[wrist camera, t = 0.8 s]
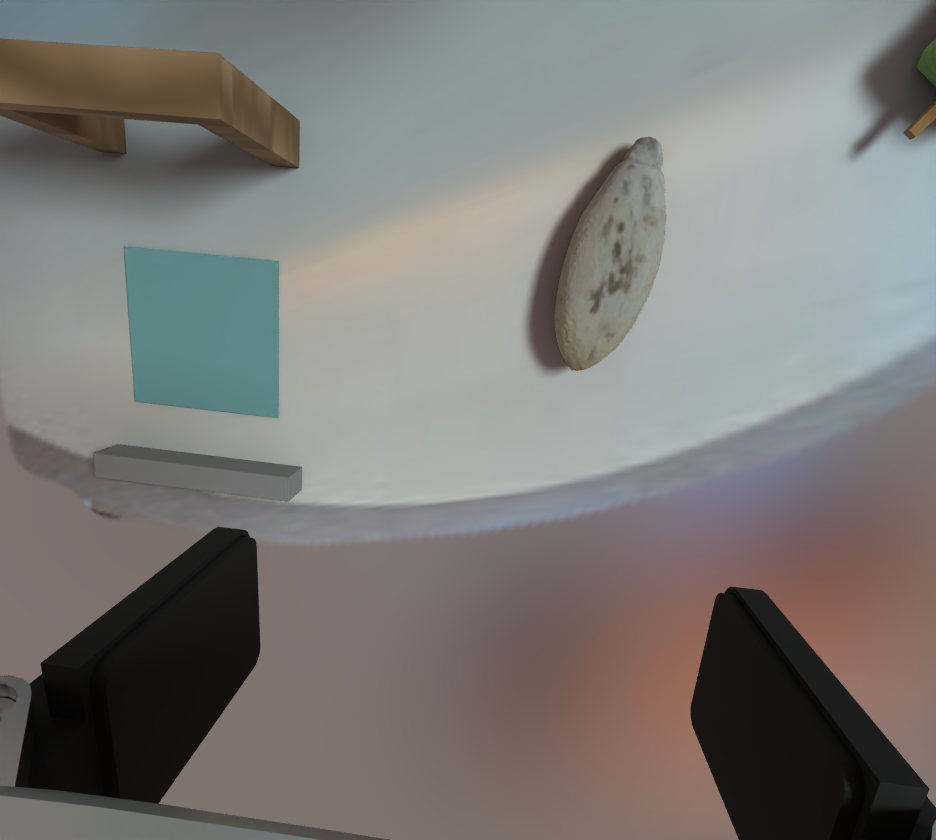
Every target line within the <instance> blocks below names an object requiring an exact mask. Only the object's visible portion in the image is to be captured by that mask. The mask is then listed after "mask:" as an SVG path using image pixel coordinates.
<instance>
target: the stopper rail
mask: <svg viewBox="0 0 936 840" xmlns="http://www.w3.org/2000/svg"><path fill="white" fill-rule="evenodd" d="M93 457H94V467H95V477H100V478H108V479H116V480H123V481H131V482H139V483H147V484H154V485H162V486H170V487H178V488H185V489H193V490H201V491H209V492H217V493H224V494H232V495H240V496H248V497H255V498H263V499H271V500H279V501H287V502H288V501H290V500H291V499H292V498H293V497H294V496H295V495H296V494H297V493H299V492H300V491H301V490H302V467H297V466H289V465H281V464H273V463H264V462H256V461H248V460H240V459H232V458H224V457H216V456H208V455H200V454H192V453H183V452H175V451H167V450H159V449H151V448H143V447H135V446H127V445H119V444H117V445H115V446H112V447H109V448H106V449H104V450H101V451H98V452H95V453H93Z"/></svg>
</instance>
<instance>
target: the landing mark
mask: <svg viewBox="0 0 936 840" xmlns="http://www.w3.org/2000/svg"><path fill="white" fill-rule="evenodd" d="M124 251H125V265H126V279H127V293H128V307H129V321H130V335H131V350H132V364H133V378H134V392H135V401H138V402H147V403H155V404H164V405H172V406H181V407H189V408H198V409H207V410H215V411H224V412H232V413H241V414H249V415H258V416H266V417H275V418H278V341H279V261H271V260H261V259H250V258H240V257H229V256H219V255H208V254H198V253H187V252H177V251H166V250H156V249H145V248H135V247H124Z"/></svg>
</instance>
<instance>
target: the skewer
mask: <svg viewBox="0 0 936 840" xmlns="http://www.w3.org/2000/svg"><path fill="white" fill-rule="evenodd" d="M916 67H917V68H918V70H919V71H920V72H921V73H922V74H923V75H924V76H925V77H926V78H927V79H928V80H929V81H930V82H931V83H932V84H933V85H934V86H936V39H935V40H933V41H932V42H931V43H930V44H929V45H928V46H927V47H926V48H925V50H924V51H923V53H922V55H921V56H920V59H919V61H918V64H917V66H916ZM935 119H936V100H935V101H934V102H933V103H932V104H931V105H930V106H929V107H928V108H927V109H926V110H925V111H924V112H923V113H922V114H921V115H920V116H919V117H918V118H917V119H916V121H915V122H914V123H913V124H912V125H911V126H910V127H909V128H908V129H907V130H906V131H905V132H904V134H905V135H906V136H907V137H908V138H909V139H912V138H915V137H916V136H917V135H919V134H920V133H921V132H922V131H923V130H924V129H925V128H926V127H927V126H928V125H930V124H931V123H932V122H933V121H934V120H935Z"/></svg>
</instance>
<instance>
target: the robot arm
mask: <svg viewBox="0 0 936 840" xmlns="http://www.w3.org/2000/svg"><path fill="white" fill-rule="evenodd" d="M257 574H258V572H257V546H256V541H255V539H253V538H250V536H249V534H248V532H247V531H246V530H240V529H232V528H223V527H217V528H215V529H213V530H212V531H211V532H209V533H208V534H207V535H206V536H204V537H203V538H202V539H200V540H199V541H198V542H197V543H195V544H194V545H193V546H191V547H190V548H189V549H188V550H186V551H185V552H184V553H183V554H181V555H180V556H179V557H177V558H176V559H175V560H173V561H172V562H171V563H169V564H168V565H167V566H166V567H164V568H163V569H162V570H160V571H159V572H158V573H157V574H155V575H154V576H153V577H152V578H150V579H149V580H148V581H146V582H145V583H144V584H142V585H141V586H140V587H138V588H137V589H136V590H135V591H133V592H132V593H131V594H129V595H128V596H127V597H126V598H124V599H123V600H122V601H120V602H119V603H118V604H116V605H115V606H114V607H113V608H111V609H110V610H109V611H107V612H106V613H105V614H104V615H102V616H101V617H100V618H98V619H97V620H96V621H95V622H93V623H92V624H91V625H89V626H88V627H87V628H85V629H84V630H83V631H82V632H80V633H79V634H78V635H76V636H75V637H74V638H73V639H71V640H70V641H69V642H67V643H66V644H65V645H64V646H62V647H61V648H60V649H58V650H57V651H56V652H55V653H53V654H52V655H51V656H49V657H48V658H47V659H45V660H44V661H43V662H42V663H41V668H42V674H41V675H40V676H39V677H38V678H36V679H35V680H34V681H33V682H32V683H30V684H29V683H27V682H26V681H25V680H24V679H22V678H19V677H14V676H0V840H389V839H383V838H377V837H370V836H364V835H358V834H352V833H345V832H339V831H333V830H326V829H320V828H313V827H306V826H300V825H294V824H287V823H280V822H274V821H267V820H261V819H255V818H248V817H242V816H235V815H229V814H222V813H216V812H209V811H203V810H196V809H190V808H183V807H177V806H170V805H163V804H158V803H159V802H160V800H161V799H162V797H163V796H164V795H165V793H166V792H167V791H168V789H169V788H170V786H171V785H172V783H173V782H174V781H175V779H176V778H177V776H178V775H179V774H180V772H181V771H182V769H183V767H184V766H185V765H186V764H187V762H188V761H189V759H190V758H191V756H192V755H193V754H194V752H195V751H196V749H197V748H198V746H199V745H200V744H201V742H202V741H203V739H204V738H205V737H206V735H207V734H208V732H209V731H210V729H211V728H212V727H213V725H214V724H215V722H216V721H217V719H218V718H219V717H220V715H221V714H222V712H223V711H224V710H225V708H226V707H227V705H228V704H229V702H230V701H231V700H232V698H233V697H234V695H235V694H236V693H237V691H238V690H239V688H240V687H241V685H242V684H243V683H244V681H245V680H246V678H247V677H248V675H249V674H250V673H251V671H252V670H253V668H254V667H255V665H256V663H257V660H258V657H259V653H260V628H259V600H258V575H257ZM691 721H692V725H693V729H694V731H695V733H696V736H697V738H698V741H699V743H700V746H701V748H702V751H703V753H704V756H705V758H706V760H707V763H708V765H709V768H710V770H711V773H712V775H713V777H714V780H715V782H716V785H717V787H718V790H719V792H720V795H721V797H722V800H723V802H724V804H725V807H726V809H727V812H728V814H729V817H730V819H731V822H732V824H733V826H734V829H735V831H736V834H737V836H738V839H739V840H936V807H935V806H934V805H933V804H932V802H931V801H930V800H929V799H928V797H927V794H928V791H929V788H928V787H927V785H926V784H925V783H924V782H923V781H922V779H921V778H920V777H919V776H918V775H917V773H916V772H915V771H914V770H913V769H912V767H911V766H910V765H909V764H908V763H907V762H906V760H905V759H904V758H903V757H902V755H901V754H900V753H899V752H898V751H897V749H896V748H895V747H894V746H893V745H892V744H891V742H890V741H889V740H888V739H887V738H886V736H885V735H884V734H883V733H882V732H881V730H880V729H879V728H878V727H877V726H876V724H875V723H874V722H873V721H872V720H871V718H870V717H869V716H868V715H867V714H866V712H865V711H864V710H863V709H862V708H861V706H860V705H859V704H858V703H857V702H856V701H855V699H854V698H853V697H852V696H851V695H850V693H849V692H848V691H847V690H846V689H845V688H844V686H843V685H842V684H841V683H840V681H839V680H838V679H837V678H836V677H835V676H834V674H833V673H832V672H831V671H830V670H829V668H828V667H827V666H826V665H825V664H824V662H823V661H822V660H821V659H820V657H819V656H818V655H817V654H816V653H815V652H814V650H813V649H812V648H811V647H810V646H809V644H808V643H807V642H806V641H805V640H804V638H803V637H802V636H801V635H800V634H799V633H798V631H797V630H796V629H795V628H794V627H793V625H792V624H791V623H790V622H789V621H788V619H787V618H786V617H785V616H784V615H783V613H782V612H781V611H780V610H779V608H778V607H777V606H776V605H775V604H774V603H773V601H772V600H771V599H770V598H769V596H768V595H767V594H766V593H765V592H764V591H761V590H755V589H746V588H738V587H729V588H728V589H727V590H726V592H725V594H724V593H720V594H718V595H717V596H716V599H715V603H714V607H713V611H712V616H711V620H710V624H709V629H708V633H707V638H706V642H705V646H704V651H703V656H702V660H701V664H700V668H699V673H698V677H697V682H696V686H695V690H694V694H693V699H692V703H691Z"/></svg>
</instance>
